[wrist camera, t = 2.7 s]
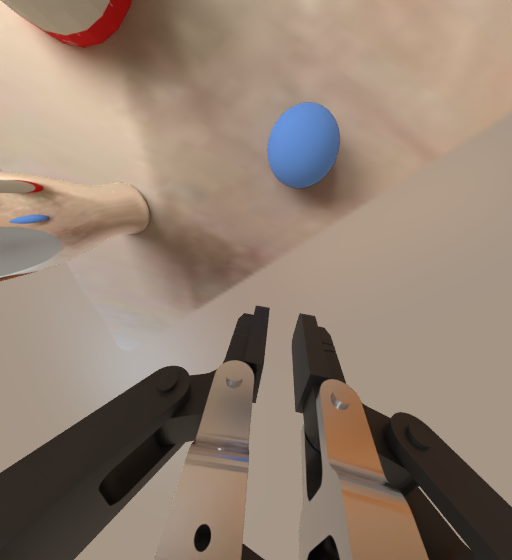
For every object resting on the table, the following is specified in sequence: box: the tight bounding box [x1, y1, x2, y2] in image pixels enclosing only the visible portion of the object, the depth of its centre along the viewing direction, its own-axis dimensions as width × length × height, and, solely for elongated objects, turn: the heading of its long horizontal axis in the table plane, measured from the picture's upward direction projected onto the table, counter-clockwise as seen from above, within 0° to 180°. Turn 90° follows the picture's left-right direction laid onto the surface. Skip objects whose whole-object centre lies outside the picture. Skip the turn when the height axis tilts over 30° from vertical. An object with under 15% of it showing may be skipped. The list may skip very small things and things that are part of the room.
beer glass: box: [0, 172, 149, 281], centre depth 17 cm, size 7×7×15 cm
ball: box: [268, 102, 340, 188], centre depth 16 cm, size 6×6×6 cm
